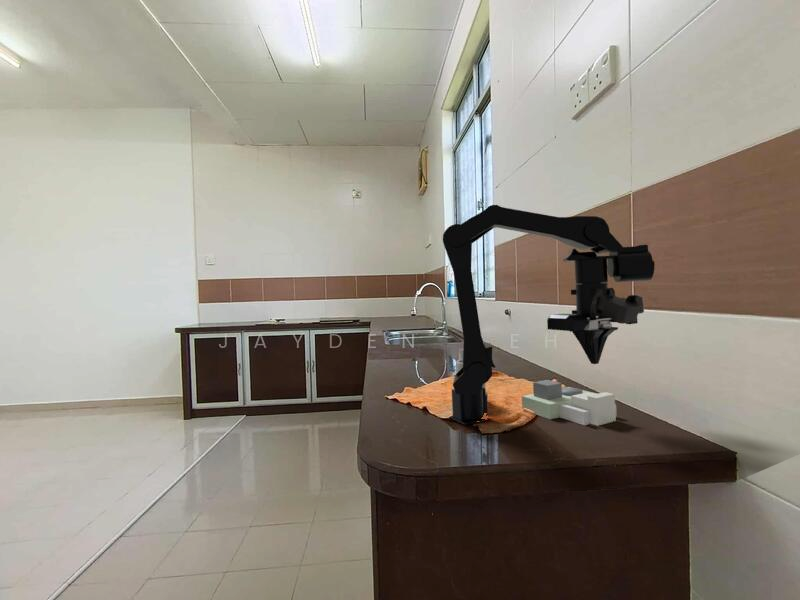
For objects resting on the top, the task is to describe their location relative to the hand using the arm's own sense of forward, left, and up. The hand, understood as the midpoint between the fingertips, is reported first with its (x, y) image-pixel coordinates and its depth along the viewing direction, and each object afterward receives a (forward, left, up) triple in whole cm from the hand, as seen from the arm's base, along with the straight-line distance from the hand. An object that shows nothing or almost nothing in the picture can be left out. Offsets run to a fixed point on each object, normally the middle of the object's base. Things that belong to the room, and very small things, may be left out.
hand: (594, 363), depth 79 cm
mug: (-12, +26, -11) cm, 31 cm away
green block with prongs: (0, +6, -11) cm, 13 cm away
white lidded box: (0, +1, -11) cm, 11 cm away
